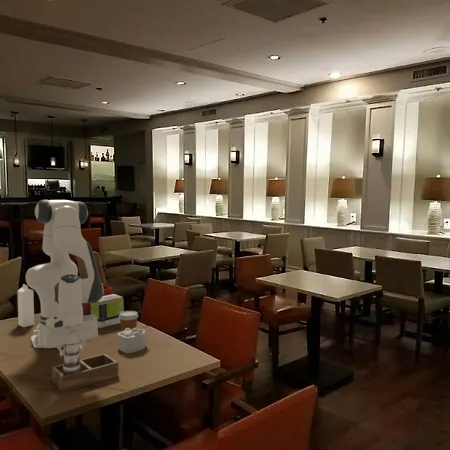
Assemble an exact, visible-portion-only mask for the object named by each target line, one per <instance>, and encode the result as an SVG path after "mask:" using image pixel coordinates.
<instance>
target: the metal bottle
mask: <svg viewBox="0 0 450 450" xmlns="http://www.w3.org/2000/svg"><path fill="white" fill-rule="evenodd" d="M74 332H76V328H75V329H70V333H73V334H72V335H71V336H70V337H69V338H68V340H67V342H66V344H64V345H63V346H62V348H63V350H64V351H65V355H64V358H63V364H64V366H63V375H64V376H66V375H70V374H74V373H77V372H81V366H80V360H81V359H80V352H79V349H80V345H81V343H82V341H81V339H80V337H79V336H78V335H77V334H74Z"/></svg>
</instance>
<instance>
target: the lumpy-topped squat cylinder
mask: <svg viewBox="0 0 450 450" xmlns="http://www.w3.org/2000/svg"><path fill="white" fill-rule="evenodd" d="M116 337H117V339H116V341H117V343H116V345H117V349H116V350H118V351H119V350H120V351H119V352H122V353H124V354H132V353H136V352H139V351H142V350H143V349H145V348H146V347H147V345H146V344H147V343H146V341H147V338H146V330H145V329H142V328H138V327H136V328H134V329H130V328H126V329H125V330H124V331H122V330H121V331H120V332H118V333H117V334H116Z"/></svg>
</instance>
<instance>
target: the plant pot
mask: <svg viewBox="0 0 450 450" xmlns="http://www.w3.org/2000/svg"><path fill="white" fill-rule="evenodd" d="M102 285H103V296H106V295H112V294H113V287H111V286H108V285H106V284H104V283H102ZM82 307H83V316H84V315H90V314H91V303H82Z"/></svg>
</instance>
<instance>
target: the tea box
mask: <svg viewBox="0 0 450 450" xmlns="http://www.w3.org/2000/svg"><path fill="white" fill-rule="evenodd" d="M124 301H125V300H124V297H123V296H122V295H118V294H115V293H111V295H106V296H103V297H102V298H101V299H100V300H99V301H98V302H96V303H91V314H94V315H96V316H97V328H98V329H102V328H106V327H110V326H115V325H118V324H121V323H120V318H119V315H120V313H121V312H124V311H125V307H124V305H125V304H124V303H125V302H124Z"/></svg>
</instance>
